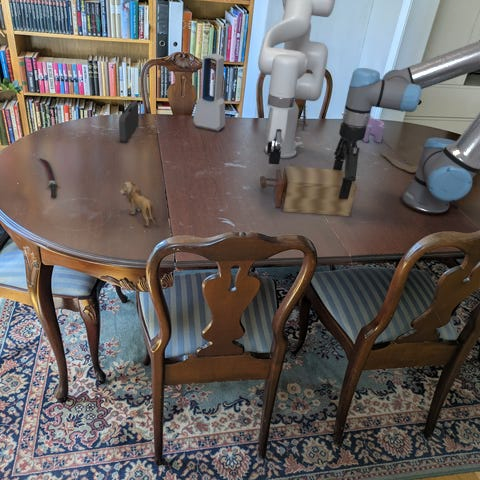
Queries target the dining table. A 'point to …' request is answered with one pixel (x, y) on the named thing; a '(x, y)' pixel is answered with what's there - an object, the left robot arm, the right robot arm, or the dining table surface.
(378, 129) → the clip
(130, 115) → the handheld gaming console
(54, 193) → the sword
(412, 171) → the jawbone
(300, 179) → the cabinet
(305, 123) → the miniature windmill
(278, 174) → the drawer
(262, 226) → the dining table surface
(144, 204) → the lion figurine
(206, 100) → the electronic device
